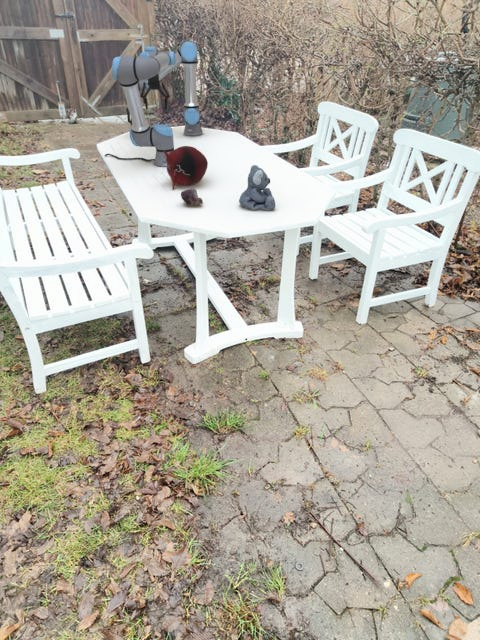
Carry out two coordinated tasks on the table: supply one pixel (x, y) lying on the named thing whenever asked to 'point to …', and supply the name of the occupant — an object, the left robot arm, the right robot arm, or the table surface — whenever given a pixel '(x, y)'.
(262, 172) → the koala plush
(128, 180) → the table surface
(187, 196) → the rock
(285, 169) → the table surface
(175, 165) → the dark red rounded piece
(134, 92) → the left robot arm
